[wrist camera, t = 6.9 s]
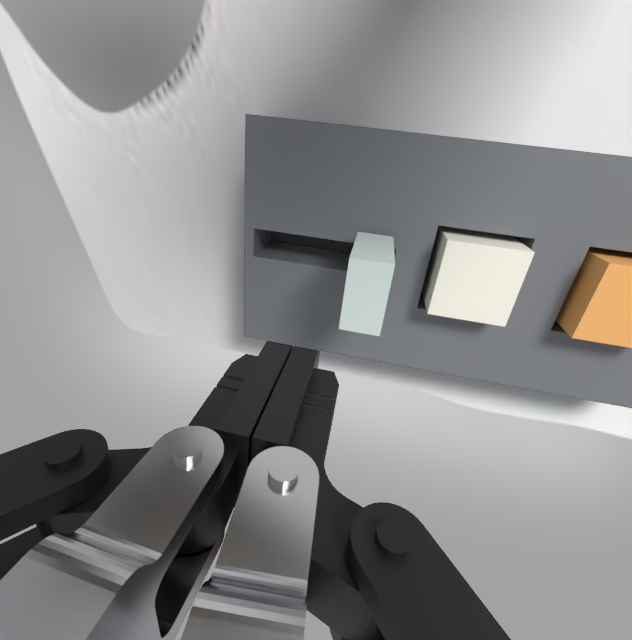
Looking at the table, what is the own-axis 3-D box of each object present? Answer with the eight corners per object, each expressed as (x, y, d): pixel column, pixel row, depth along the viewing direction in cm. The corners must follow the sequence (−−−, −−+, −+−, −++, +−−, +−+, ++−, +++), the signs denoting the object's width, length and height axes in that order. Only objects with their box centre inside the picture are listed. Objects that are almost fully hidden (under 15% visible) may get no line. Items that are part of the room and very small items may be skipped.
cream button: (438, 224, 22) (447, 239, 19) (511, 234, 22) (534, 252, 18) (421, 289, 24) (427, 313, 21) (487, 299, 24) (505, 326, 20)
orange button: (573, 243, 21) (609, 263, 18) (652, 254, 21) (706, 276, 17) (544, 308, 23) (571, 337, 20) (615, 320, 23) (656, 352, 19)
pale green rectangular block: (362, 217, 24) (349, 257, 16) (392, 221, 24) (395, 264, 15) (354, 267, 26) (338, 329, 17) (382, 272, 25) (379, 336, 17)
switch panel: (267, 118, 23) (245, 114, 19) (755, 173, 20) (836, 179, 16) (261, 313, 29) (243, 336, 26) (627, 377, 26) (665, 414, 22)
